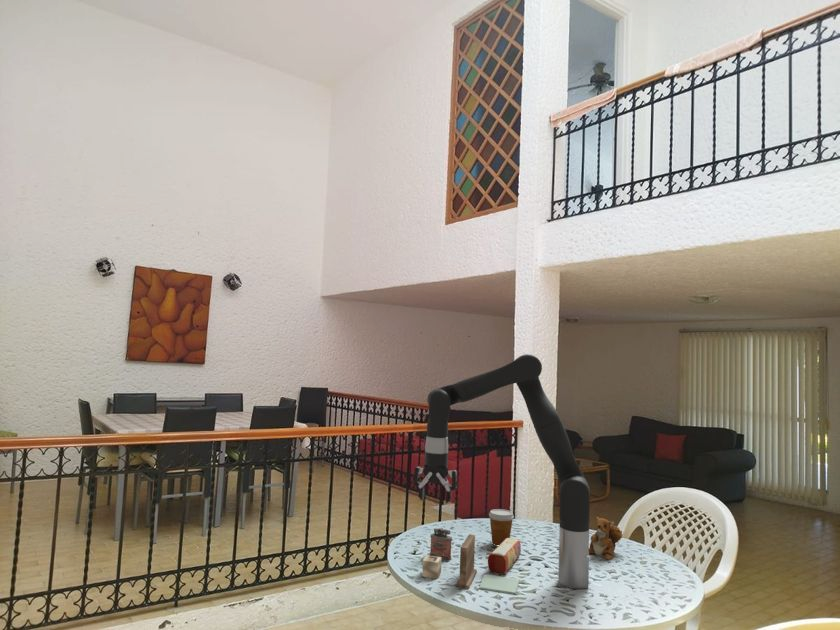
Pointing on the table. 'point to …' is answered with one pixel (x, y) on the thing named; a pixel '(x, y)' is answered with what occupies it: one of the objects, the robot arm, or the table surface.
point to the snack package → (504, 556)
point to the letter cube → (431, 566)
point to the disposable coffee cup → (500, 525)
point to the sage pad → (499, 584)
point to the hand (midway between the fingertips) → (434, 501)
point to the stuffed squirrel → (605, 539)
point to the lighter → (441, 544)
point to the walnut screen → (467, 563)
